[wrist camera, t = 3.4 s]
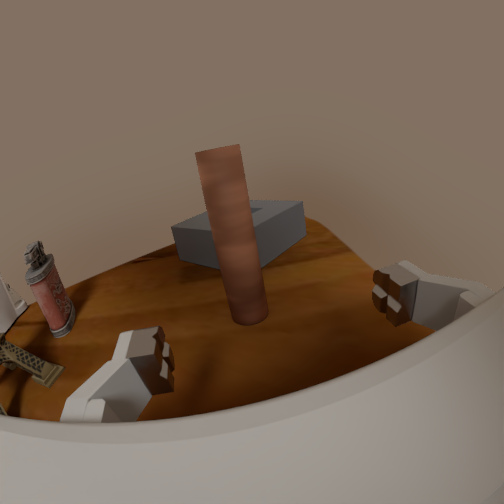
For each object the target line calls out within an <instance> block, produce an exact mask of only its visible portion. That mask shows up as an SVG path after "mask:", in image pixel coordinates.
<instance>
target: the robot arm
mask: <svg viewBox="0 0 504 504" xmlns="http://www.w3.org/2000/svg"><path fill="white" fill-rule="evenodd" d="M373 282H374V283H375V287H374V289H373V290H372V299H373V303H374V306H375V307H376V309H377V310H378V311H379V312H381V313H385V314H386V319H387V320H388V321H389V322H391V323H392V324H393V325H394V326H395V327H397V326H399V325H402V324H404V323H406V322H409V321H411V320H412V321H413V322H416V323H418V324H421V325H423V326H426V327H428V328H431V329H433V330H436V332H435V333H433V334H431V335H429V336H427V337H425V338H424V339H422V340H420V341H418V342H416V343H414V344H412V345H410V346H408V347H406V348H404V349H402V350H400V351H398V352H396V353H394V354H392V355H390V356H387V357H385V358H383V359H381V360H379V361H376V362H374V363H372V364H369V365H367V366H365V367H362V368H360V369H357V370H355V371H353V372H350V373H347V374H345V375H342V376H340V377H337V378H334V379H332V380H329V381H326V382H323V383H320V384H318V385H315V386H312V387H309V388H306V389H302V390H299V391H296V392H293V393H290V394H286V395H283V396H279V397H276V398H272V399H268V400H265V401H261V402H257V403H253V404H248V405H244V406H240V407H235V408H231V409H226V410H221V411H215V412H210V413H204V414H198V415H192V416H185V417H178V418H170V419H161V420H151V421H138V422H135V421H136V420H137V418H138V417H139V415H140V414H141V412H142V411H143V409H144V408H145V406H146V405H147V403H148V402H149V400H150V399H151V397H152V396H151V395H157V394H163V393H169V392H174V376H173V374H172V372H173V371H174V369H175V363H174V356H173V353H172V350H171V348H170V345H169V344H167V343H166V342H165V334H164V332H163V330H162V328H161V327H160V326H156V327H150V328H144V329H138V330H131V331H126V332H122V333H120V336H119V339H118V342H117V345H116V348H115V351H114V355H113V358H112V361H108V362H107V363H106V364H104V365H103V366H102V367H101V368H100V369H99V370H98V371H97V372H96V373H95V374H93V375H92V376H91V377H90V378H89V379H88V380H87V381H86V382H85V383H84V384H83V385H82V386H80V387H79V388H78V389H77V390H76V391H75V392H74V393H73V394H72V395H71V396H70V397H69V398H67V400H66V403H65V406H64V409H63V412H62V415H61V419H60V422H54V421H42V420H33V419H25V418H18V417H11V416H5V415H1V414H0V504H504V287H503V288H502V289H501V290H499V291H498V292H497V293H496V292H494V291H493V290H491V289H489V288H488V287H486V286H485V285H483V284H482V283H480V282H475V281H470V280H464V279H459V278H453V277H446V276H441V275H435V274H431V275H429V274H428V273H426V272H424V271H423V270H421V269H419V268H418V267H416V266H415V265H413V264H411V263H410V262H408V261H405V260H404V261H401V262H398V263H395V264H393V265H390V266H388V267H385V268H382V269H379V270H376V271H374V274H373ZM27 307H28V305H27V304H26V302H25V301H24V300H23V299H22V298H21V297H20V296H19V295H18V294H17V293H16V292H15V291H14V290H13V289H12V288H11V289H10V287H9V285H8V284H7V283H4V281H3V279H2V276H1V274H0V333H3V332H4V333H5V332H6V331H7V330H8V329H9V327H10V326H11V325H12V324H13V322H14V321H15V319H16V318H17V317H18V316H19V315H20V314H21V313H22V312H23V311H24V310H25V309H26V308H27Z"/></svg>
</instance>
